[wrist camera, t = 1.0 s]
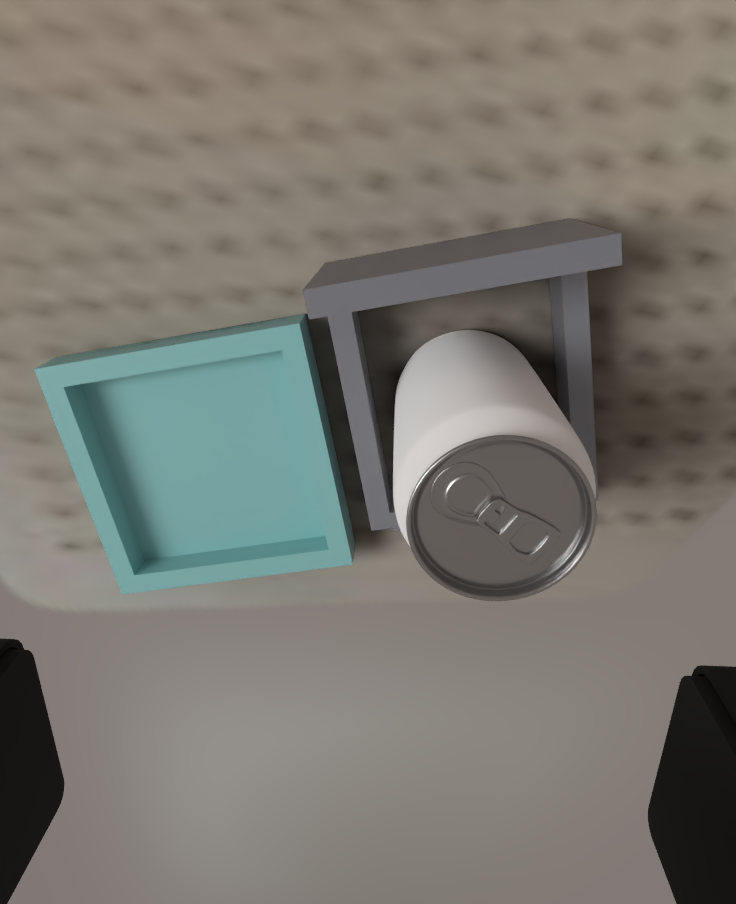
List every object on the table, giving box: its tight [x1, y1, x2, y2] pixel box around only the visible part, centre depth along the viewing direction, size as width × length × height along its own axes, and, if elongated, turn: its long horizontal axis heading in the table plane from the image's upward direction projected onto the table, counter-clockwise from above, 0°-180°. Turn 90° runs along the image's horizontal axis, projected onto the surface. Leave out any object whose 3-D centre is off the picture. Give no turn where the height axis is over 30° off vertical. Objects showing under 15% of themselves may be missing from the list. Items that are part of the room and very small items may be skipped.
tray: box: [34, 314, 355, 594], centre depth 31 cm, size 12×12×2 cm
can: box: [393, 330, 597, 601], centre depth 25 cm, size 6×6×12 cm
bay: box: [303, 218, 622, 532], centre depth 27 cm, size 10×12×7 cm
